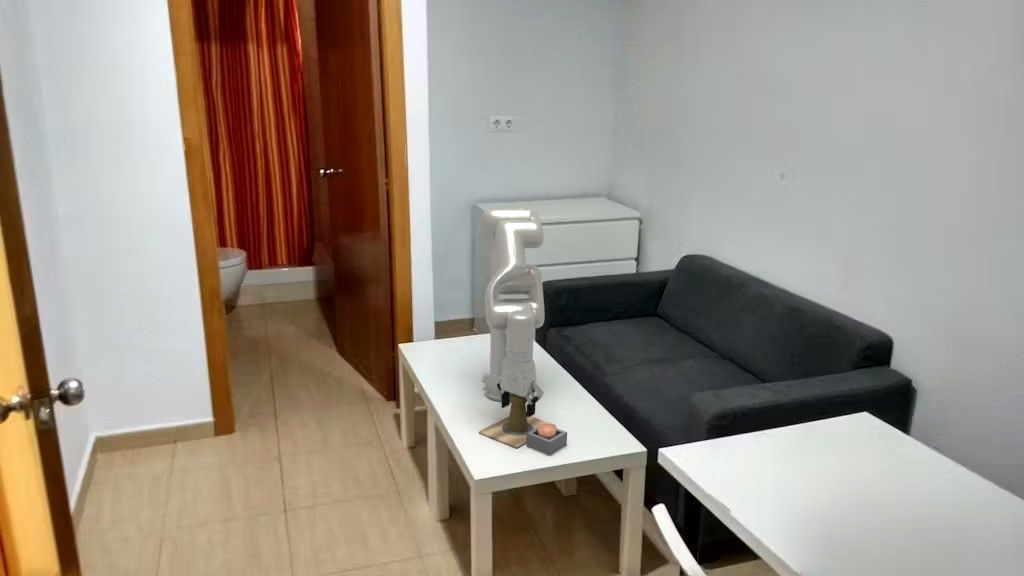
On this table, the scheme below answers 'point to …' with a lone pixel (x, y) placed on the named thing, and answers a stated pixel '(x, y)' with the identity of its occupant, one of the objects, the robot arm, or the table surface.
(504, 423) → the wooden board
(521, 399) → the pepper shaker
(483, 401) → the table surface
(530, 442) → the button housing
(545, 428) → the button
